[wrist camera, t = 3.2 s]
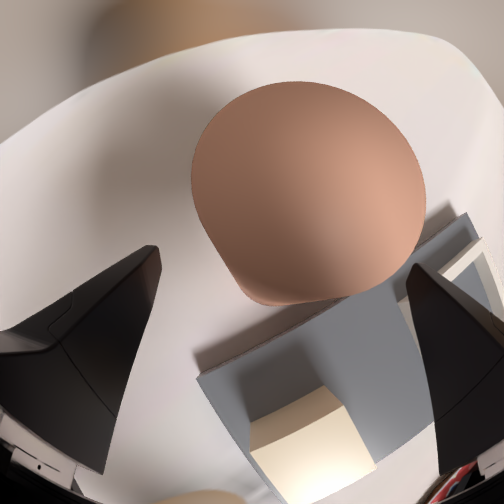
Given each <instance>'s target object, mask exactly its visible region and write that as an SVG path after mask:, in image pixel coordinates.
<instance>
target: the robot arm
mask: <svg viewBox="0 0 504 504" xmlns="http://www.w3.org/2000/svg"><path fill="white" fill-rule="evenodd" d="M161 271H162V264H161V259H160V253H159V248H158V247H157V246H154V245H146V246H144V247H142V248H141V249H139V250H137V251H135V252H134V253H132V254H130V255H129V256H127V257H125V258H124V259H122V260H120V261H119V262H117V263H115V264H114V265H112V266H111V267H109V268H107V269H106V270H104V271H102V272H101V273H99V274H98V275H96V276H95V277H93V278H91V279H90V280H88V281H87V282H85V283H84V284H82V285H80V286H79V287H77V288H76V289H74V290H73V292H70V293H68V294H67V295H65V296H64V297H62V298H60V299H59V300H57V301H56V302H54V303H53V304H51V305H49V306H48V307H46V308H44V309H43V310H41V311H39V312H38V313H36V314H34V315H32V316H31V317H29V318H27V319H26V320H24V321H22V322H21V323H19V324H17V325H16V326H14V327H12V328H10V329H7V330H4V331H0V504H102V503H99V502H97V501H94V500H92V499H90V498H87V497H85V496H84V495H83V493H82V491H81V490H80V488H79V486H78V484H77V482H76V480H75V479H74V474H75V470H76V467H77V465H78V466H81V467H83V468H85V469H88V470H90V471H93V472H95V473H98V474H101V475H103V472H104V468H105V464H106V460H107V455H108V451H109V447H110V443H111V439H112V435H113V431H114V427H115V424H116V420H117V419H116V418H117V416H118V412H119V409H120V405H121V402H122V398H123V395H124V391H125V388H126V385H127V382H128V378H129V375H130V372H131V369H132V366H133V363H134V360H135V357H136V354H137V351H138V348H139V345H140V342H141V339H142V336H143V333H144V330H145V327H146V325H147V322H148V319H149V316H150V313H151V311H152V307H153V303H154V299H155V295H156V291H157V287H158V283H159V279H160V276H161ZM406 290H407V295H408V300H409V305H410V310H411V315H412V320H413V324H414V328H415V331H416V335H417V339H418V343H419V347H420V351H421V355H422V359H423V363H424V368H425V372H426V377H427V382H428V387H429V392H430V398H431V404H432V410H433V417H434V423H435V432H436V441H437V451H438V464H439V474H440V476H441V475H444V474H447V473H449V472H452V471H454V470H457V469H459V468H461V467H464V466H466V465H468V464H470V463H472V462H475V461H478V465H479V469H478V470H476V471H474V472H472V473H470V474H468V475H466V476H463V477H462V479H461V481H460V483H459V484H458V486H457V488H456V490H455V492H454V494H453V496H451V497H449V498H447V499H444V500H442V501H440V502H437V503H435V504H504V322H503V321H502V320H500V319H499V318H498V317H497V316H495V315H494V314H493V313H492V312H490V311H489V310H488V309H487V308H485V307H484V306H483V305H481V304H480V303H479V302H478V301H476V300H475V299H474V298H472V297H471V296H470V295H468V294H467V293H466V292H464V291H463V290H462V289H460V288H459V287H458V286H456V285H455V284H453V283H452V282H451V281H449V280H448V279H446V278H445V277H444V276H442V275H441V274H439V273H438V272H436V271H435V270H434V269H432V268H431V267H429V266H428V265H426V264H425V263H414V264H413V265H412V268H411V270H410V272H409V275H408V277H407V280H406Z"/></svg>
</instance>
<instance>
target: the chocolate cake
mask: <svg viewBox="0 0 504 504" xmlns="http://www.w3.org/2000/svg"><path fill="white" fill-rule="evenodd" d="M478 469H479V465H478V461H475V462H472V463H470V464H468V465H466V466H464V467H461V468H459V469H457V470H455V471H454V472H453V473H452V474H451V475H450V476H449V477H447V478H446V479H445V480H444V481H443V482H442V483H440V484H439V485H438V486H437V487H436V488H435V489H434V490H433V491H432V493H431V494H430V496H429V497H428V499H427V500H426V502H425V503H424V504H435V503H437V502H440V501H442V500H444V499H447V498H449V497H451V496H453V494H454V492H455V490H456V488H457V486H458V484H459V483H460V481H461V479H462V477H463V476H466V475H468V474H470V473H472V472H474V471H476V470H478Z"/></svg>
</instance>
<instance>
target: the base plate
mask: <svg viewBox="0 0 504 504" xmlns="http://www.w3.org/2000/svg"><path fill="white" fill-rule="evenodd" d="M414 263H425V264H426V265H428V266H429V267H431V268H432V269H434V270H435V271H436V272H438V273H439V274H441V275H442V276H444V277H445V278H446V279H448V280H449V281H451V282H452V283H453V284H455V285H456V286H458V287H459V288H460V289H462V290H463V291H464V292H466V293H467V294H468V295H470V296H471V297H472V298H474V299H475V300H476V301H478V302H479V303H480V304H481V305H483V306H484V307H485V308H487V309H488V310H489V311H490V312H492V313H493V314H494V315H495V316H497V317H498V318H499V319H500V320H502V321H503V322H504V288H503V285H502V282H501V279H500V276H499V274H498V271H497V268H496V266H495V263H494V261H493V258H492V256H491V253H490V251H489V249H488V246H487V244H486V242H485V240H484V237H481V238H479V237H478V234H477V232H476V230H475V228H474V226H473V224H472V222H471V220H470V218H469V216H468V214H467V212H466V213H464V214H462V215H460V216H458V217H457V218H455V219H454V220H453V221H451V222H450V223H449V224H448V225H446V226H445V227H444V228H442V229H441V230H440V231H439V232H437V233H436V234H435V235H433V236H432V237H431V238H429V239H428V240H427V241H425V242H424V243H423V244H421V245H420V246H418V247H417V248H416V249H414V250H413V252H412V253H411V255H410V256H409V257H408V259H407V260H406V262H405V263H404V264H403V265H402V266H401V267H400V268H399V269H398V270H397V271H396V272H395V273H394V274H393V275H392V276H390V277H389V278H388V279H386V280H385V281H384V282H382V283H381V284H379V285H377V286H375V287H373V288H371V289H369V290H367V291H364V292H361V293H358V294H355V295H352V296H346V297H342V298H341V299H339V300H338V301H336V302H334V303H333V304H331V305H329V306H328V307H326V308H324V309H323V310H321V311H319V312H318V313H316V314H314V315H312V316H311V317H309V318H307V319H306V320H304V321H302V322H300V323H299V324H297V325H295V326H293V327H291V328H290V329H288V330H286V331H284V332H282V333H281V334H279V335H277V336H275V337H273V338H271V339H269V340H267V341H266V342H264V343H262V344H260V345H258V346H256V347H254V348H252V349H250V350H248V351H246V352H244V353H242V354H240V355H238V356H236V357H234V358H232V359H230V360H228V361H226V362H224V363H222V364H220V365H218V366H216V367H214V368H211V369H209V370H207V371H205V372H203V373H201V374H200V375H199V376H198V377H197V378H196V380H197V382H198V383H199V385H200V387H201V388H202V390H203V392H204V394H205V395H206V397H207V399H208V400H209V402H210V404H211V405H212V407H213V408H214V410H215V412H216V413H217V415H218V416H219V418H220V420H221V421H222V423H223V424H224V426H225V427H226V429H227V430H228V432H229V433H230V435H231V436H232V438H233V439H234V441H235V442H236V444H237V445H238V447H239V448H240V450H241V451H242V452H243V454H244V455H245V457H246V458H247V459H248V461H249V462H250V464H251V465H252V466H253V468H254V469H255V470H256V472H257V473H258V474H259V476H260V477H261V478H262V480H263V481H264V482H265V484H266V485H267V486H268V487H269V489H270V490H271V491H272V492H273V494H274V495H275V496H276V497H277V499H278V500H279V501H280V502H281V503H282V504H311V503H313V502H315V501H317V500H320V499H322V498H324V497H326V496H328V495H330V494H332V493H334V492H336V491H338V490H340V489H342V488H344V487H346V486H348V485H350V484H351V483H353V482H355V481H357V480H359V479H360V478H362V477H364V476H365V475H367V474H369V473H370V472H372V471H374V470H375V469H377V467H376V465H375V464H376V463H377V462H379V461H380V460H382V459H383V458H385V457H386V456H388V455H389V454H391V453H392V452H394V451H395V450H397V449H398V448H400V447H401V446H402V445H404V444H405V443H406V442H408V441H409V440H410V439H412V438H413V437H414V436H416V435H417V434H418V433H420V432H421V431H422V430H423V429H425V428H426V427H427V426H428V425H429V424H431V423H432V422H433V421H434V417H433V410H432V404H431V398H430V392H429V387H428V382H427V377H426V372H425V368H424V363H423V359H422V355H421V351H420V347H419V343H418V339H417V335H416V331H415V328H414V324H413V320H412V315H411V310H410V305H409V300H408V295H407V290H406V280H407V277H408V275H409V272H410V270H411V268H412V265H413V264H414Z"/></svg>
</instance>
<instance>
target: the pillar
mask: <svg viewBox="0 0 504 504" xmlns="http://www.w3.org/2000/svg"><path fill="white" fill-rule="evenodd" d="M191 184H192V194H193V199H194V204H195V208H196V210H197V213H198V216H199V218H200V221H201V223H202V225H203V227H204V229H205V231H206V232H207V234H208V236H209V238H210V239H211V241H212V243H213V244H214V246H215V248H216V249H217V251H218V253H219V254H220V256H221V258H222V259H223V261H224V262H225V264H226V266H227V267H228V269H229V271H230V272H231V274H232V275H233V277H234V279H235V280H236V282H237V284H238V285H239V287H240V288H241V290H242V291H243V292H244V293H245V294H246V295H247V296H248V297H249V298H250V299H252V300H253V301H255V302H257V303H260V304H262V305H266V306H283V305H291V304H299V303H307V302H314V301H321V300H328V299H335V298H341V297H346V296H352V295H355V294H358V293H361V292H364V291H367V290H369V289H371V288H373V287H375V286H377V285H379V284H381V283H382V282H384V281H385V280H386V279H388V278H389V277H390V276H392V275H393V274H394V273H395V272H396V271H397V270H398V269H399V268H400V267H401V266H402V265H403V264H404V263H405V262H406V260H407V259H408V257H409V256H410V255H411V253H412V252H413V250H414V248H415V246H416V244H417V242H418V240H419V237H420V234H421V231H422V228H423V224H424V219H425V213H426V193H425V184H424V180H423V176H422V172H421V169H420V166H419V163H418V160H417V158H416V156H415V154H414V152H413V150H412V148H411V146H410V145H409V143H408V142H407V140H406V139H405V137H404V136H403V134H402V133H401V132H400V131H399V129H398V128H397V127H396V126H395V125H394V124H393V123H392V122H391V121H390V120H389V119H388V118H387V117H386V116H385V115H384V114H383V113H382V112H380V111H379V110H378V109H377V108H375V107H374V106H373V105H371V104H370V103H368V102H366V101H365V100H363V99H361V98H359V97H358V96H356V95H354V94H352V93H349V92H347V91H344V90H342V89H339V88H336V87H332V86H329V85H325V84H319V83H314V82H301V81H297V82H282V83H274V84H270V85H266V86H262V87H259V88H256V89H254V90H251V91H249V92H247V93H245V94H243V95H241V96H239V97H237V98H236V99H234V100H233V101H231V102H230V103H229V104H227V105H226V106H225V107H224V108H223V109H222V110H220V111H219V112H218V113H217V114H216V115H215V117H214V118H213V119H212V120H211V121H210V123H209V124H208V125H207V127H206V129H205V130H204V132H203V134H202V135H201V137H200V140H199V142H198V144H197V147H196V150H195V154H194V158H193V162H192V172H191Z"/></svg>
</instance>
